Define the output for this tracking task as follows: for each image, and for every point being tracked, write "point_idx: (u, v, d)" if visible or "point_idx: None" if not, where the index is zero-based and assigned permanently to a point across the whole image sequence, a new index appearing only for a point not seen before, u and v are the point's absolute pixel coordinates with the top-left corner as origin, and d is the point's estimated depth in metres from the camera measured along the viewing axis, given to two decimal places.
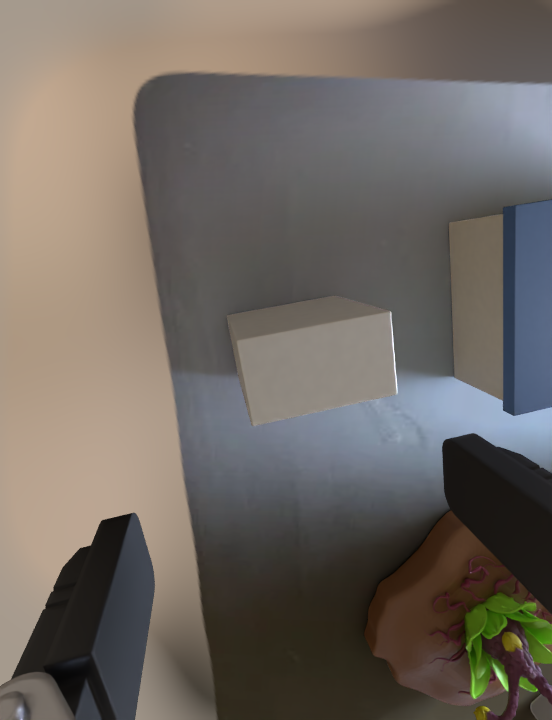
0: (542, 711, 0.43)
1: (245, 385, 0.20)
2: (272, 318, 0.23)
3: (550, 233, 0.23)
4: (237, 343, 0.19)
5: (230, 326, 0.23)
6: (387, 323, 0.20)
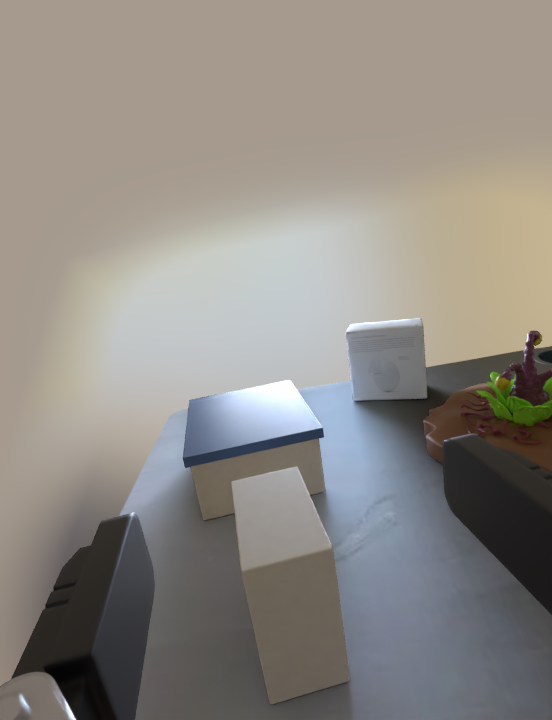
0: None
1: (288, 558, 0.19)
2: None
3: (203, 442, 0.37)
4: (244, 570, 0.19)
5: (257, 641, 0.20)
6: (240, 481, 0.26)
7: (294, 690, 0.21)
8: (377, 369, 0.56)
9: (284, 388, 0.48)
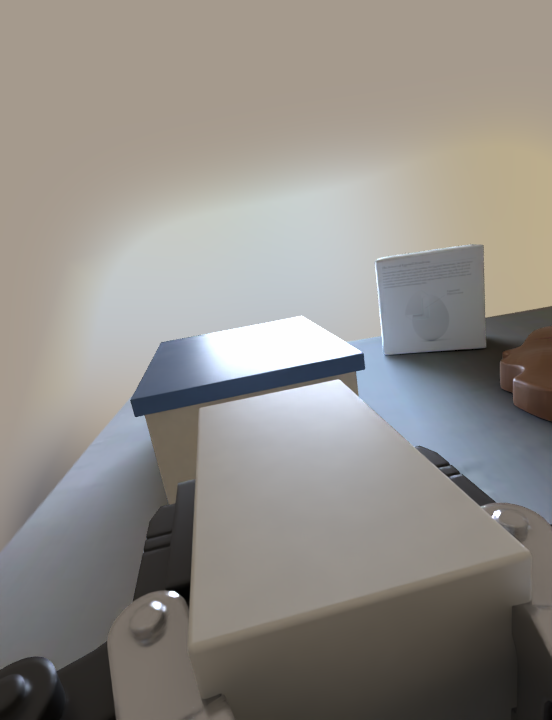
0: None
1: (372, 596, 0.05)
2: None
3: (169, 380, 0.23)
4: (200, 643, 0.05)
5: None
6: (218, 406, 0.12)
7: None
8: (417, 310, 0.42)
9: (294, 322, 0.34)
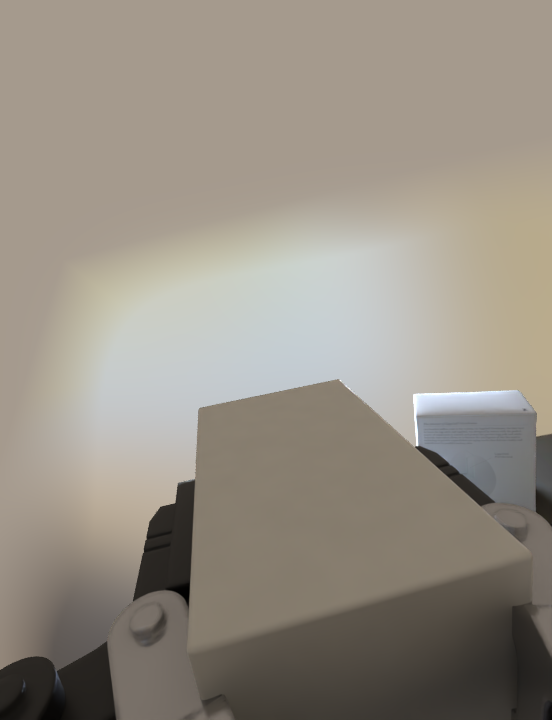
0: None
1: (372, 596, 0.05)
2: None
3: None
4: (199, 644, 0.05)
5: None
6: (218, 406, 0.12)
7: None
8: (461, 468, 0.39)
9: None
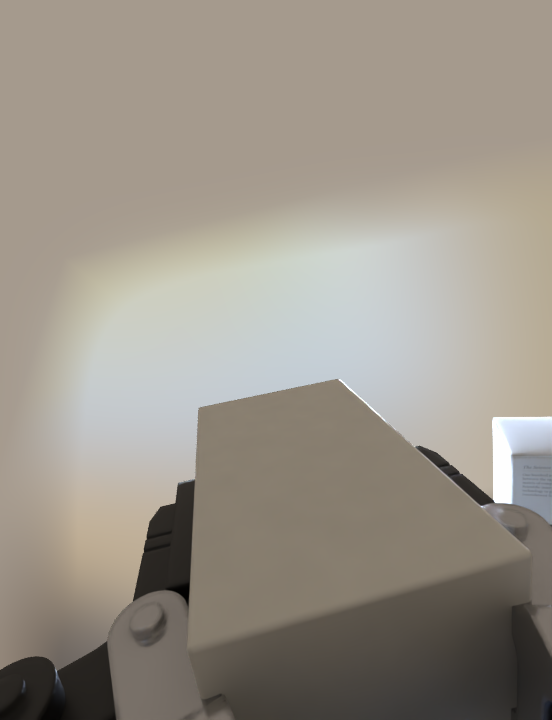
0: None
1: (372, 595, 0.05)
2: None
3: None
4: (199, 643, 0.05)
5: None
6: (217, 405, 0.12)
7: None
8: None
9: None
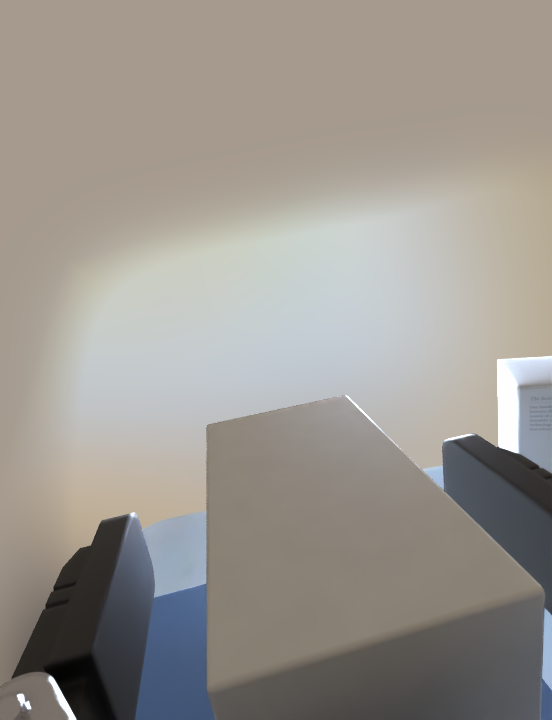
0: None
1: (387, 633, 0.05)
2: None
3: None
4: (218, 682, 0.05)
5: None
6: (225, 423, 0.12)
7: None
8: None
9: None
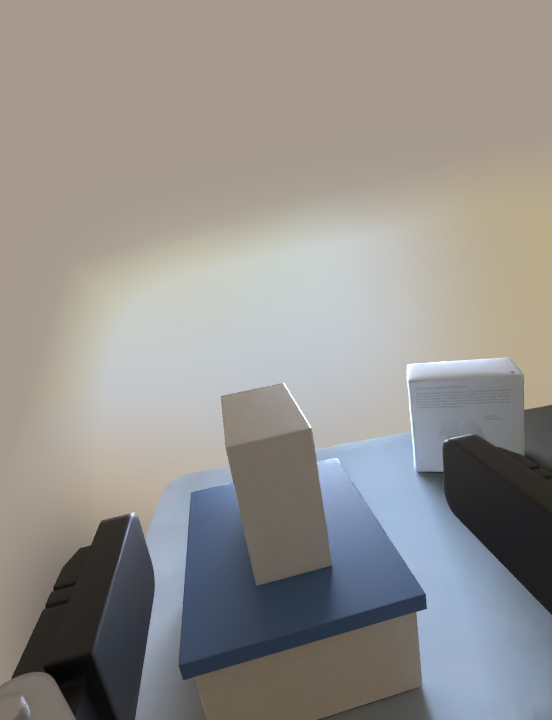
0: None
1: (270, 437, 0.21)
2: None
3: (215, 614, 0.21)
4: (228, 446, 0.20)
5: (242, 519, 0.21)
6: (229, 395, 0.28)
7: (279, 572, 0.23)
8: (452, 431, 0.40)
9: (331, 476, 0.32)
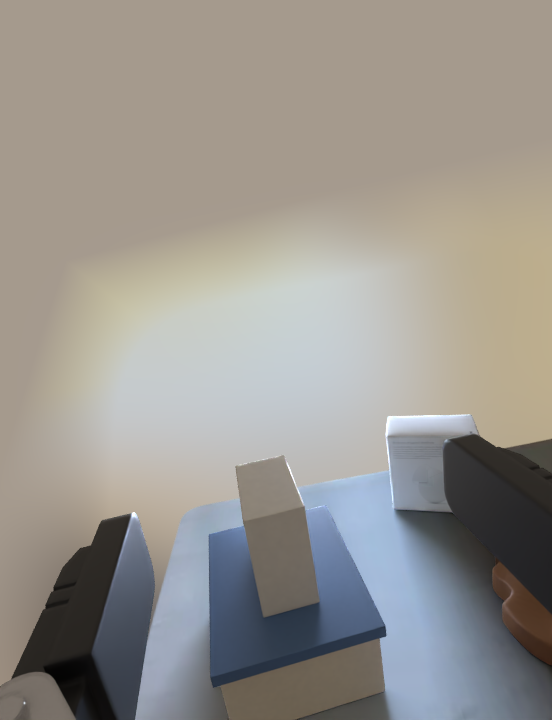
0: None
1: (274, 513, 0.29)
2: None
3: (234, 639, 0.30)
4: (245, 520, 0.29)
5: (254, 570, 0.30)
6: (242, 465, 0.36)
7: (280, 607, 0.31)
8: (422, 478, 0.48)
9: (321, 522, 0.40)
